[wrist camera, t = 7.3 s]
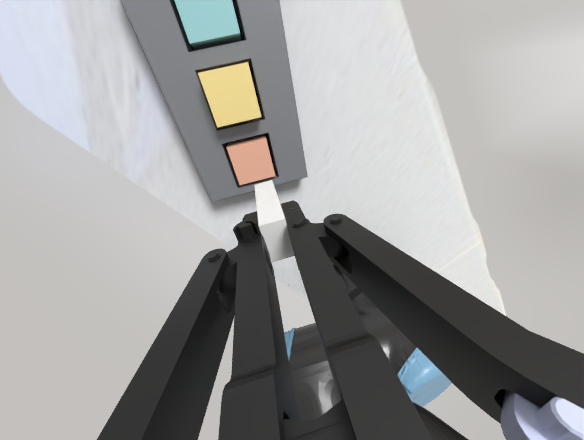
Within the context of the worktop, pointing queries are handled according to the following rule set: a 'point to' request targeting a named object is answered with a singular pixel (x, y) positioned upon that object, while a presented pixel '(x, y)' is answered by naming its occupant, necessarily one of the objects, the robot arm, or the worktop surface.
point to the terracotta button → (251, 159)
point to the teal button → (209, 22)
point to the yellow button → (230, 94)
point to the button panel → (192, 99)
